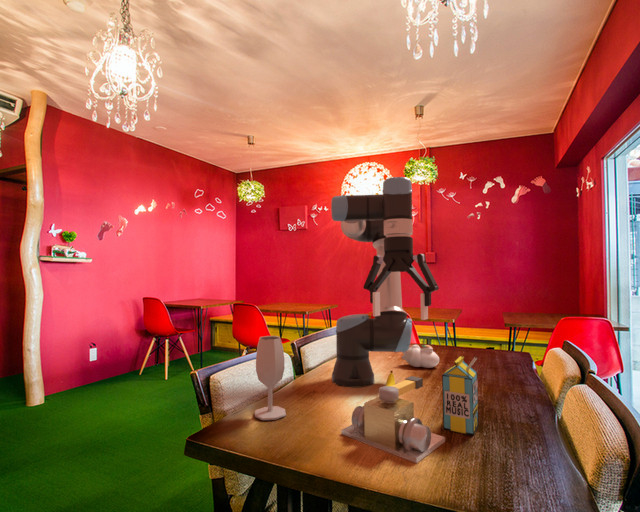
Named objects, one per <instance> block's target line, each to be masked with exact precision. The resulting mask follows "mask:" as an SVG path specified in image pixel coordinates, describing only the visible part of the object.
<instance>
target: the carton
mask: <svg viewBox="0 0 640 512" xmlns="http://www.w3.org/2000/svg"><path fill="white" fill-rule="evenodd" d="M464 358H465V356H459V357H458V358H457V359H456V360H454V365H452V366H450V367H449V368H448V369H446V371H445V372H444V373H442V375H441V380H442V382H441V383H442V384H441V386H442V387H441V389H442V426H443V427H442V428H443V429H442V430H443V431H448V432H451V433H452V432H453V433H457V434H462V435H466V436H471V437H474V436H475V434H476V432H477V429H478V428H479V400H478V399H479V394H478V388H479V387H478V386H479V385H478V372H477V370H475V369H474V368H472V367H473V366H474V363H476V361H477V360H478V357H476V356H474V357H473V359H472V360H471V361H470V363H466V362H465V361H464Z"/></svg>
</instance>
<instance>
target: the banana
mask: <svg viewBox="0 0 640 512" xmlns="http://www.w3.org/2000/svg"><path fill="white" fill-rule="evenodd" d="M389 371H390V374H388V376H387V379H386V382H385V386H393V385H395V384H396V379H395V376H394V373H393V370H389Z"/></svg>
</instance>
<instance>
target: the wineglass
mask: <svg viewBox="0 0 640 512" xmlns="http://www.w3.org/2000/svg"><path fill="white" fill-rule="evenodd" d="M283 346H284V345H283V343H282V339H281V336H278V335H266V336H265V335H264V336H259V338H258V343H257V347H256V354H255V355H256V356H255V371H256V376H257V380H258V381H259V382H261V383H262V384H263V386H265V387H266V388H267V406H264V407H261V408H258V409H255V411H254V417H255V418H256V419H258V420H261V421H276V420H279V419H282V418H284V417H286V416H287V413H286V408H283V407H281V406H278V405H273V404H274V403H273V402H274V401H273V399H274V398H273V391H274V390H273V388H274V387H276V385H277V384H279V382H281V381H282V380H283V377H284V372H285V354H284V352H285V351H284V347H283Z"/></svg>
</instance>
